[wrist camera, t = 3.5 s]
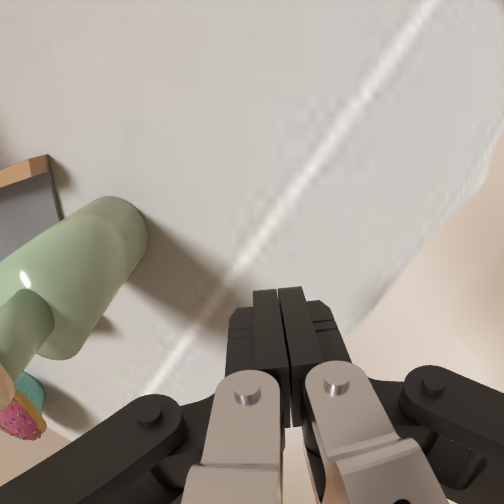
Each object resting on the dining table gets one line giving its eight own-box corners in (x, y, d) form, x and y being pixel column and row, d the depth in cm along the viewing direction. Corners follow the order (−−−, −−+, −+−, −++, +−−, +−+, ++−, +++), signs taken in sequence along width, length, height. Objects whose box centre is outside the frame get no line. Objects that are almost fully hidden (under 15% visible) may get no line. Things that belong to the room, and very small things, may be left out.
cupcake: (9, 391, 28) (-31, 457, 17) (-6, 345, 25) (-60, 415, 14) (63, 418, 29) (29, 493, 18) (53, 374, 26) (4, 460, 15)
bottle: (139, 190, 19) (-18, 315, 6) (155, 266, 21) (63, 442, 8) (72, 203, 20) (-85, 312, 6) (91, 272, 22) (-22, 416, 8)
